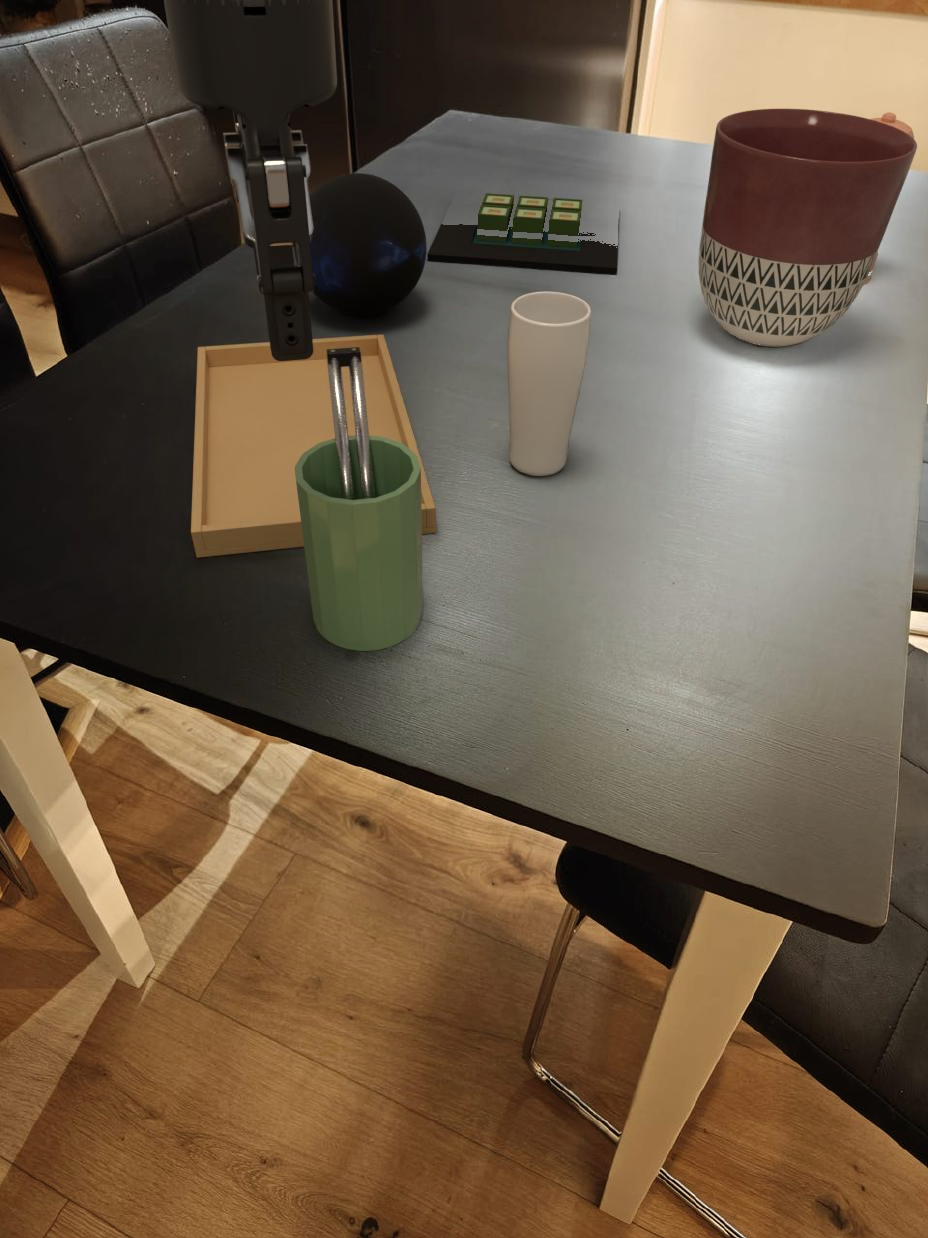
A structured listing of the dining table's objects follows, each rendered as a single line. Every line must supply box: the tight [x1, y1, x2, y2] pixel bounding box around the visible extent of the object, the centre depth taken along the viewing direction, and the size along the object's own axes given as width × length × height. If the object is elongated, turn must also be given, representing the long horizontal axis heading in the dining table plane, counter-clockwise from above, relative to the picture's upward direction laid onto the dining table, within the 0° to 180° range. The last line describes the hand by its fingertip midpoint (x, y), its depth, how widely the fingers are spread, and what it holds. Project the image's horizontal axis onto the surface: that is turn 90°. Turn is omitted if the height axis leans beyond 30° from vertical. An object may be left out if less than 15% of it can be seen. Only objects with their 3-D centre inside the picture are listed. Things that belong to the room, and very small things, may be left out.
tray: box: [190, 334, 437, 558], centre depth 85 cm, size 20×33×3 cm, turn 11°
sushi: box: [426, 192, 619, 276], centre depth 127 cm, size 25×25×4 cm
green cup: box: [295, 435, 424, 652], centre depth 64 cm, size 8×8×13 cm
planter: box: [698, 108, 918, 348], centre depth 98 cm, size 20×20×21 cm
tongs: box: [327, 347, 375, 500], centre depth 63 cm, size 2×9×18 cm, turn 11°
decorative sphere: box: [293, 172, 427, 317], centre depth 103 cm, size 15×15×15 cm
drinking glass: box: [507, 291, 592, 477], centre depth 79 cm, size 7×7×15 cm
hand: (285, 323), depth 51 cm, fingers open, 8 cm apart
